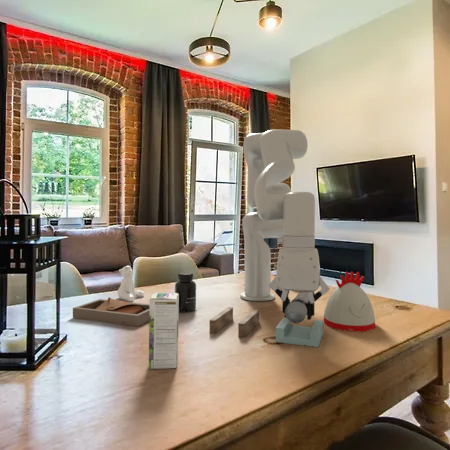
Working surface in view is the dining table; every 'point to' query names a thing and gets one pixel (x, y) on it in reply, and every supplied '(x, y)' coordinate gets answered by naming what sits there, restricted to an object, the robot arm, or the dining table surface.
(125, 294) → the white creature statuette
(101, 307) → the sunglasses case
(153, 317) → the syrup box
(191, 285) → the supplement bottle
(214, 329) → the wooden blocks
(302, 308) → the grey cylinder
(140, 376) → the dining table surface
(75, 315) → the valet tray rim
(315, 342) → the cradle
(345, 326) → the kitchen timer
